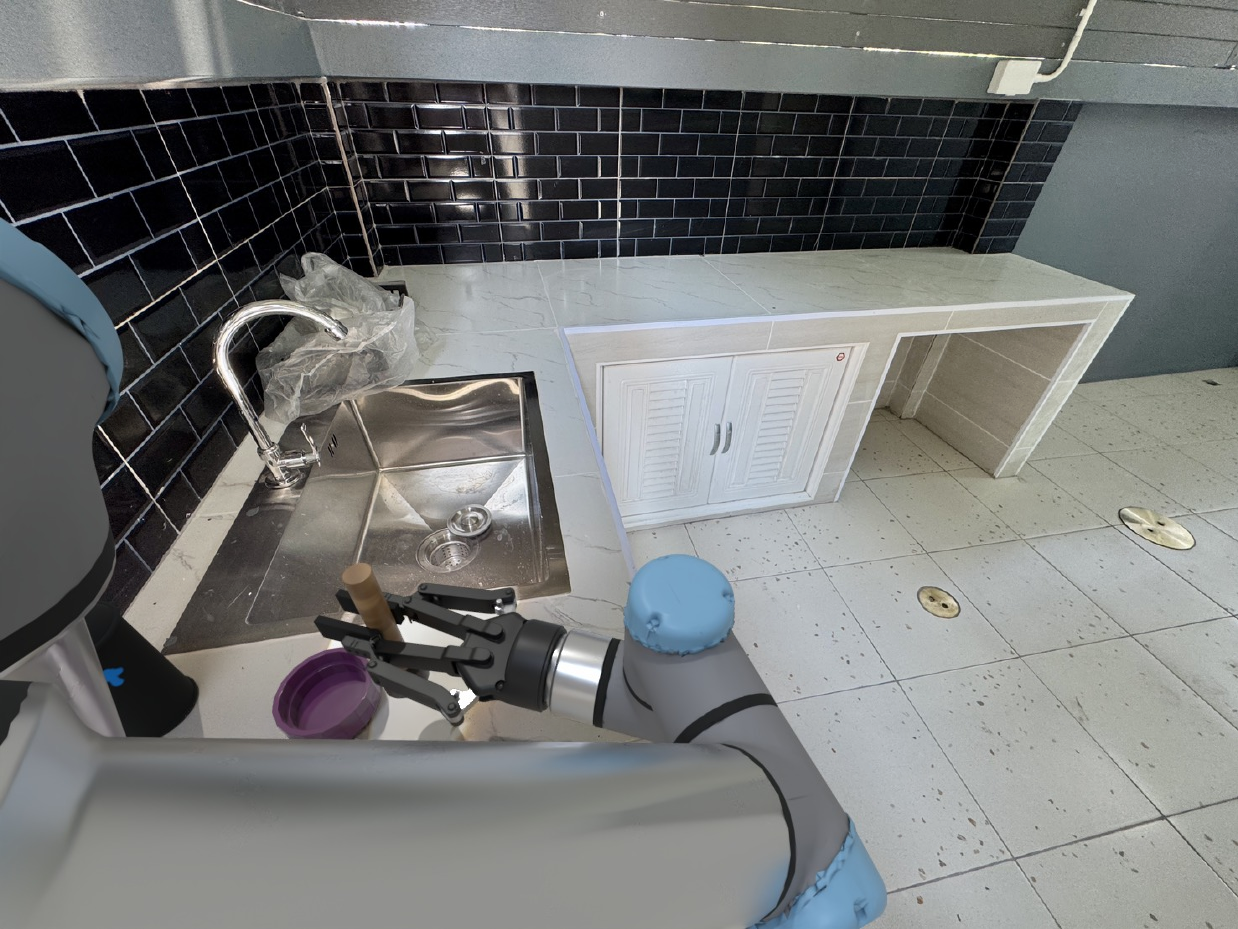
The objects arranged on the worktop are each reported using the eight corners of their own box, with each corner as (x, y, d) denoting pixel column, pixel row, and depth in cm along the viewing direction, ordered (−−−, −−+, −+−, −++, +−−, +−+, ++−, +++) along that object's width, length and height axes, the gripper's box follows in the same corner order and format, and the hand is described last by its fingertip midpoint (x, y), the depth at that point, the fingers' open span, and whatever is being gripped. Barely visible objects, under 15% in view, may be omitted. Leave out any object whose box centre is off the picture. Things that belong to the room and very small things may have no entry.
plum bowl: (304, 773, 55) (287, 757, 52) (277, 702, 61) (261, 683, 58) (395, 711, 60) (385, 693, 57) (363, 650, 66) (352, 631, 63)
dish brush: (394, 708, 53) (337, 606, 41) (376, 674, 55) (318, 570, 44) (437, 679, 55) (395, 575, 44) (418, 648, 58) (373, 543, 46)
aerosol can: (142, 678, 63) (23, 578, 50) (212, 673, 63) (112, 573, 50) (95, 749, 56) (-55, 655, 44) (174, 743, 57) (49, 648, 44)
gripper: (530, 776, 42) (289, 707, 46) (583, 620, 54) (387, 575, 58) (522, 738, 38) (254, 664, 42) (582, 576, 49) (368, 530, 53)
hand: (332, 613), depth 50 cm, fingers closed on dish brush, 2 cm apart
